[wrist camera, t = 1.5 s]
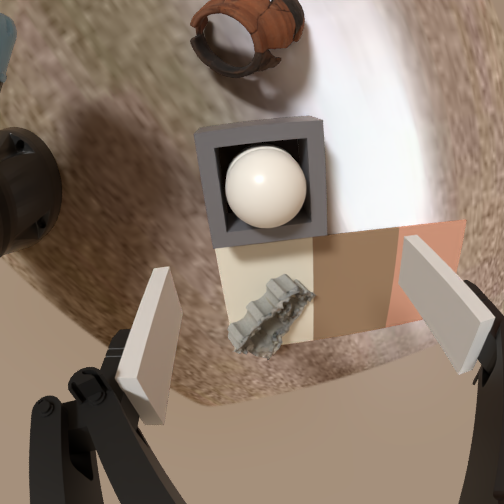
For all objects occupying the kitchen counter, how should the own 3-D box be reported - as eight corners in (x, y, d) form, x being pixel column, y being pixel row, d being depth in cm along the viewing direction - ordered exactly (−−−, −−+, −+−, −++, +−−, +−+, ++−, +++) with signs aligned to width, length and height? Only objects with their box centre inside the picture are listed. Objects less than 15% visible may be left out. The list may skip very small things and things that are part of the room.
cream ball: (231, 215, 32) (230, 246, 26) (221, 147, 29) (217, 162, 23) (300, 207, 32) (315, 236, 26) (295, 139, 29) (312, 152, 23)
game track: (235, 349, 44) (235, 350, 44) (215, 248, 36) (215, 249, 36) (444, 313, 44) (445, 313, 43) (465, 219, 36) (466, 220, 36)
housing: (216, 227, 35) (213, 248, 31) (200, 127, 30) (193, 133, 26) (315, 215, 35) (327, 235, 31) (310, 115, 30) (322, 120, 25)
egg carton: (248, 340, 42) (266, 363, 39) (215, 334, 36) (235, 361, 33) (304, 282, 40) (326, 304, 38) (280, 265, 34) (305, 291, 32)
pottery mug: (309, 59, 28) (274, 97, 25) (229, 40, 30) (184, 75, 27) (318, -46, 17) (276, -34, 14) (222, -53, 19) (165, -36, 16)
